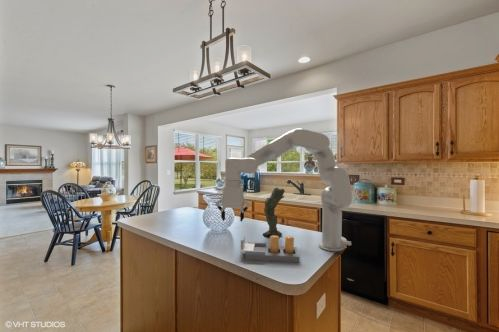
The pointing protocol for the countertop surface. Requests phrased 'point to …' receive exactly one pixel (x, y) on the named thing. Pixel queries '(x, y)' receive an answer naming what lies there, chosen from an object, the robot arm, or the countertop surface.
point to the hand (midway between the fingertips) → (232, 220)
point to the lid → (246, 246)
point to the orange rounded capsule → (274, 244)
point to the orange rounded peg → (289, 245)
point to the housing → (270, 254)
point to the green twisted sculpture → (272, 212)
